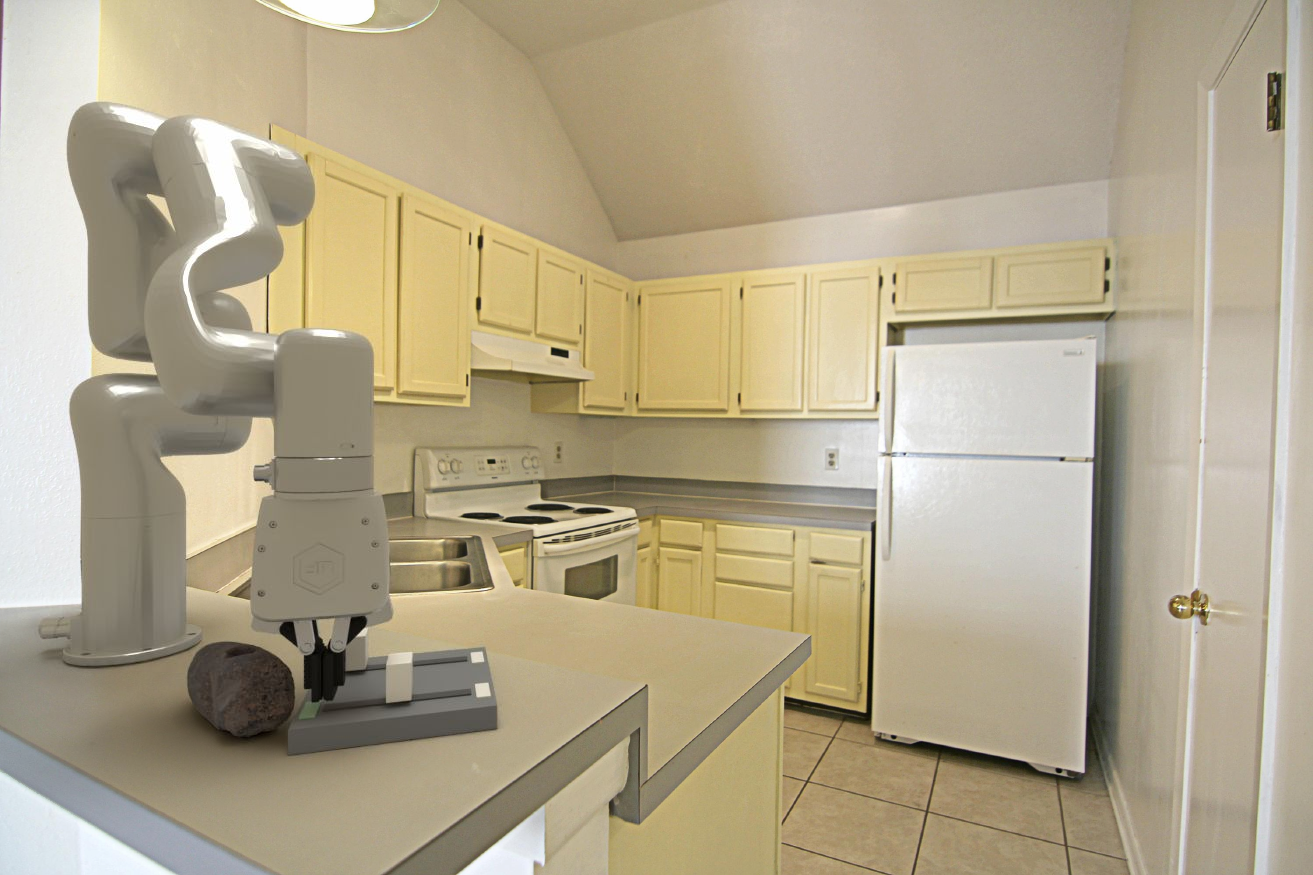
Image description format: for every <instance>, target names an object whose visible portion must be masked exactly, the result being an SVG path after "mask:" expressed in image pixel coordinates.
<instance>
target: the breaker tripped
mask: <svg viewBox="0 0 1313 875" xmlns="http://www.w3.org/2000/svg"><path fill="white" fill-rule="evenodd" d="M413 653H414V651H405V652H394V653H388V654H387V656H388V659H387V664H386V703H390V702H399V701H408V700H411V698H412V689H413Z"/></svg>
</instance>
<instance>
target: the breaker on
mask: <svg viewBox="0 0 1313 875" xmlns="http://www.w3.org/2000/svg"><path fill="white" fill-rule="evenodd" d="M369 628H370V627H367V628H364V629H363V630H362V631H361V632H360V633H359V634H358V635H357V636H356V637H355V638H354V639H353V640H352V641H351V642H350V643H349V644H348V645H347V646H346V671H352V670H363V669H366V665H367V662H368V657H369V652H370V651H369V649H370V648H369V644H370V643H369V638H370V637H369V634H370V633H369V632H370V630H369Z"/></svg>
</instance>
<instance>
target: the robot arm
mask: <svg viewBox="0 0 1313 875" xmlns="http://www.w3.org/2000/svg"><path fill="white" fill-rule="evenodd" d="M67 129H68V131H67V137H66V162H67V168H68V172H69V174H68V175H69V176H70V177H69V178H70V182H71V185H72V187H73V191H74V195H75V196H76V199H77V203H78V206H79V208H80V211H81V214H82V217H83V222H84V225H85V228H86V236H87V321H88V322H87V323H88V332H89V333H88V334H89V337H90V340H91V341H90V342H91V343H92V345H93V346H94V348H95V349H96V350H97V352H99V353H101V354H102V355H104V356H107V357H108V358H113V359H116V360H122V361H123V360H124V361H132V362H138V363H149V364H150V363H151V364H152V363H153V366H154V370H155V374H151V373H150V374H149V373H133V372H132V373H129V372H113V373H104V374H99V375H94V376H92V377H89V378H86V379H85V380H83V381H81V383H79V384H78V385H77V386H76V387H75V388H74V390H73V391H72V393H71V396H70V399H69V405H68V406H69V408H68V410H69V411H68V413H69V421H70V426H71V430H72V435H73V440H74V444H75V449H76V455H77V460H78V462H77V463H78V469H79V481H80V542H81V558H80V560H81V562H80V579H81V580H82V585H81V612H80V613H77V614H76V615H75V616H72V617H64V616H62V617H46V618H42V619H41V620H40V622H39V624H38V634H39V635H40V639H41V640H50V639H51V640H52V639H58V638H66V639H67V640H70V643H68V644H67V645H66V646H65V647H64V648H63V650H62V660H63V661H65V663H67V664H69V665H74V666H80V667H81V666H82V667H103V666H104V667H106V666H114V665H117V666H118V665H124V664H132V663H138V662H143V661H148V660H153V659H158V658H162V657H166V656H169V655H172V654H176V653H180V652H182V651H185V650H187V649H189V648H191V647H193V646H195V645H197V644H198V643H199V642H201V640H202V639H203V629H202V628H201V626H199V625H196V624H193V623H187V499H186V498H187V497H186V492H185V490H184V487H183V485H182V483H181V482H180V480H179V479H178V478H177V477H176V476H175V475H174V474H173V473H172V471H170V470H169V469H168V467H167V466H166V465H165V464H164V463H163V461H162V459H161V458H164V457H165V458H166V457H174V456H175V457H176V456H177V457H178V456H180V457H181V456H210V455H211V456H214V455H226V454H227V455H228V454H230V453H231V454H232V453H235V452H236V451H239V450H240V449H241V448H243V446H245V445H246V443H247V442H248V440H249V438H250V435H251V432H252V427H253V426H252V425H253V418H255V419H256V418H257V419H258V418H265V419H273V456H274V457H271V461H269V462H268V463H265V464H263V465H262V464H260V465H259V464H258V465H257V464H255V465H254V466H253V471H252V472H253V475H252V476H253V481H254V482H264V483H265V484H269V486H271V487H270V488H271V491H273V494H271V495H270V494H269V495H267V496H263V497H262V498H261V502H260V506H259V509H258V510H259V511H258V516H257V520H256V526H255V532H254V533H255V534H254V542H253V552H252V564H251V577H250V578H251V579H250V592H249V594H250V595H249V597H250V599H249V602H250V604H249V605H250V612H251V614H252V616H253V617H252V620H251V624H250V628H251V630H252V631H254V632H258V633H265V634H270V635H281V636H282V637H284V639H286V640H287V641H288V642H290V643H291V644H292V645H293V646H295V647H296V648H297V649H298V652H299V653H300V655H303V690H304V691H306V690H307V691H308V689H311V702H312V703H316V702H319V701H320V700H322V698H323V700H326V701H333V699H334V697H335V694H336V692H337V689H338V686H344V684H345V678H346V646H347V645H348V644H349V643H350V642H351V641H352V640H353V639H354V638H355V637H356V636H357V635H358V634H359V633H360V632H361V631H362V630H363V629H364V628H367V627H369V628H371V627H375V626H377V625H380V624H381V625H382V624H383V623H384V624H385V623H388V622H390V621H391V620H392V619H393V616H394V611H395V610H394V607H393V604H392V599H391V597H390V589H391V574H392V573H391V572H392V571H391V553H390V550H391V549H390V541H389V540H390V539H389V538H390V537H389V530H388V528H389V527H388V519H387V515H386V514H387V513H386V507H385V503H384V498H383V494H382V493H381V492H379V491H374V490H375V484H374V482H375V474H374V472H375V457H374V453H375V452H374V451H375V450H374V445H375V444H374V442H375V441H374V440H375V436H374V435H375V434H374V432H375V430H374V428H375V423H374V422H375V421H374V420H375V419H374V418H375V414H374V412H375V410H374V409H375V408H374V407H375V401H374V400H375V355H374V349H373V348H374V347H373V346H372V343H371V341H370V340H369V339H368V338H367V337H365V336H364V335H362V334H360V333H357V332H353V331H347V330H342V329H336V328H335V329H334V328H322V327H321V328H320V327H304V328H302V327H301V328H300V327H299V328H292V329H288V330H285V331H283V332H282V333H280V334H276V333H269V332H260V331H254V330H253V329H254V328H253V324H252V319H251V317H250V315H249V314H250V313H249V312H248V309H247V308H246V307H245V304H243V303H242V301H240V300H239V299H238V298H236V297H235V296H233V295H230V294H228V293H226V292H222V290H223V291H224V290H227V289H232V288H237V287H242V286H244V285H248V284H251V283H255V282H257V281H260V280H262V279H264V278H266V277H267V276H269V275H270V274H272V273H273V272H274V271H275V270H277V268H278V267H279V266H280V264H281V262H282V260H283V257H284V254H285V252H284V251H285V246H284V242H283V238H282V236H281V233H280V231H279V228H278V227H277V226H281V227H295V226H297V225H299V224H301V223H303V222H305V220H306V219H307V218H308V217H309V216H310V215H311V212H312V209H313V208H314V204H315V201H316V200H315V199H316V184H315V179H314V176H313V173H312V169H311V168H310V165H309V164H308V163H307V161H306V160H305V158H304V157H303V156H302V155H301V154H300V153H298V152H297V151H296V150H294V149H293V148H291V147H290V146H287V145H285V144H282V143H281V142H277V141H275V140H272V139H268V138H266V137H264V136H261V135H258V134H256V133H253V132H250V131H247V130H244V129H243V128H242V129H241V128H238V127H236V126H233V125H230V124H227V123H224V122H222V121H218V120H216V119H212V118H208V117H204V116H199V115H198V116H197V115H190V114H189V115H177V116H173V117H167V116H164V115H161V114H159V113H155V112H153V111H149V110H145V109H143V108H139V107H136V106H132V105H127V104H123V103H118V102H112V101H111V102H110V101H92V102H88V103H85V104H83V105H81V106H80V107H78V108H77V110H75V112H74V113H73V115H72V117H71V119H70V123H69V126H68V128H67ZM148 195H153V196H156V197H159V198H163V199H164V200H165V202H166V203H165V204H166V206H167V210H168V212H169V216H170V219H171V221H172V225H173V226H172V225H171V223H170V222H169V220H168V219H167V218H166V216H165V214H164V213H163V212H162V211H161V210H160V209H159V208H158V206H157V205H156V204H155V203H154V202H153V201H152V200H151V199H150V198H149V197H148ZM330 619H331V620H332V619H333V620H334V621H333V626H332V633H331V638H330V639H329V641H328V643H327V644H326V645H325V643H324V639H323V638H322V637H321V634H320V632H321V631H320V628H319V627H320V626H319V622H318V620H330Z"/></svg>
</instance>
